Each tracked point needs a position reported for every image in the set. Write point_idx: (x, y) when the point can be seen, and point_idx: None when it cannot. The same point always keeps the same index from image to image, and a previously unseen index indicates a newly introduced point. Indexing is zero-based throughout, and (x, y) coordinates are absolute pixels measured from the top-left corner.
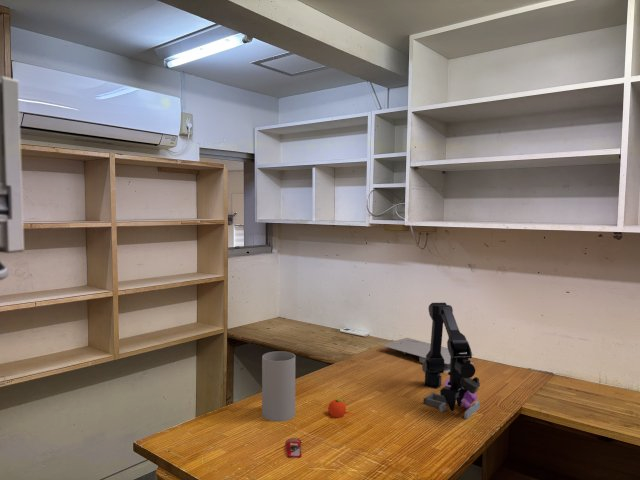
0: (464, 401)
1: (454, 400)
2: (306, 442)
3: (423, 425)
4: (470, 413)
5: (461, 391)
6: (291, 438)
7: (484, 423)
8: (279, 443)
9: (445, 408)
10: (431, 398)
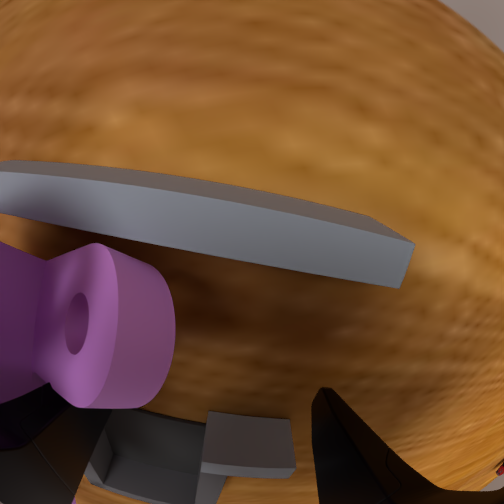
0: (149, 381)
1: (438, 488)
2: (488, 469)
3: (461, 413)
4: (282, 202)
5: (26, 483)
6: (501, 474)
7: (357, 39)
8: (482, 477)
9: (220, 428)
10: (138, 480)
